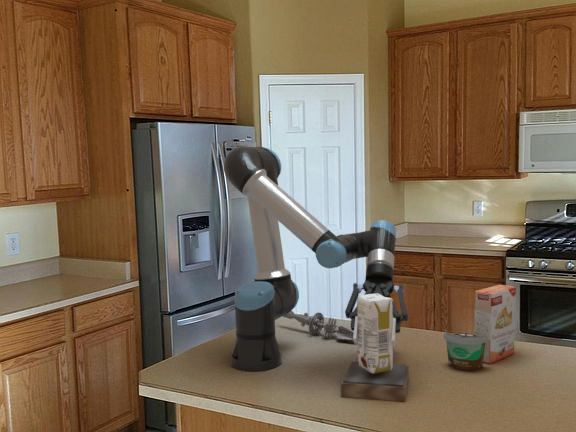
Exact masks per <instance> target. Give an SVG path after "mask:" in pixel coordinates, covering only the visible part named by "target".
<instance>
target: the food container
mask: <svg viewBox="0 0 576 432" xmlns="http://www.w3.org/2000/svg"><path fill="white" fill-rule="evenodd" d="M443 339H444V340H445V342H446V350H447V358H448V360H447V361H448V366H449V367H450V368H452V369H453V370H454V369H455V370H456V371H461V372H462V371H464V372H477V371H480V370H481V369H483V366H484V362H483V359H484V350H485V343H486V342H487V341H488V337H487V335H486V334H485V335H482V336H479V335H474V334H471V333H468V332H467V333H466V332H463V333H462V332H461V333H453V332H452V333H449V332H448V331H447V330H446V329H445V331H444V333H443Z"/></svg>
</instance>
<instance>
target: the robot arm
mask: <svg viewBox="0 0 576 432" xmlns="http://www.w3.org/2000/svg"><path fill="white" fill-rule="evenodd" d="M223 171H224V174H225V177H226V179H227V180H228V182H229V183H230V184H231V185H232V186H233V187H234V188H235V189H236V190H237V191H239V192H240V193H241V194H242V195H244V196H246V197H247V203H248V209H249V216H250V217H249V218H250V224H251V231H252V237H253V245H254V252H255V261H256V266H257V273H256V274H255V275H254V278H253V280H254V281H251V282H247V283H243V284H241V285H240V286H238V287H237V288H236V290H235V292H234V302H233V303H234V311H235V312H234V313H235V315H234V316H235V334H236V335H235V337H236V338H235V342H234V344H233V349H232V352H231V355H230V365H231V367H233V368H235V369H237V370H242V371H247V372H249V371H251V372H252V371H253V372H255V371H257V372H258V371H259V372H260V371H267V370H271V369H274V368H277V367H279V366H280V365H281V364H282V362H283V361H282V360H283V359H282V351H281V348H280V346H279V344H278V340H277V337H276V320H278V319H279V318H282V317H283V316H284V315H287V314H288V313H289V312H291V311H293V310H294V309H295V308H296V306H297V305H298V302H299V299H300V290H299V287H298V285H297V283H295V282H294V281H293V280H292V275H291V272H290V271H289V270H288V269H286V266H285V260H284V254H283V253H284V252H283V245H282V238H281V232H280V224H282V225H283V226H284V227H285V229H287V230H288V231H289V232H291V234H292V235H293V236H295V237H296V238H297V239H298V240H300V241H301V242H302V243H303V244H304V245H305V246H306V247H308V249H310V250H311V251H312V252H314V254H315V258H316V260H317V263H318V264H319V265H320V266H321V267H323V268H325V269H335V268H339V267H341V266H342V265H343V264H346V263H348V262H351V261H352V260H357V259H363V258H367V260H366V268H365V269H366V271H365V279H364V282H363V284H358V283H357V282H355V283H353V284H352V289H353V290H352V292H351V296H350V298H349V300H348V303H347V306H346V309H345V310H344V313H345V317H346V318H347V319H350V329H351V330H353V331H354V336H353V340H354V341H353V343H354V344H357V345H358V309H357V308H358V304H357V302H358V296H360V295H359V294H361V293H362V290H363V291H364V292H365V293H364V294H363V295H366V294H376V293H378V294H380V295H382V296H384V297H388V298H392V297H391V294H392V293H393V292H394V291H395V294H396V295H398V301H399V306H400V310H401V313H399V310H398V309H397V307H396V305H395V302H394V300H393V301H392V306H393V324H392V339H391V341H392V346H394V347H395V346H396V337H397V336H396V334H400V332H401V324H402V323H401V322H404V321H405V322H407V321H408V320H409V317H408V311H407V310H408V309H407V306H406V302H405V297H404V294H405V288H404V284H399V285H395V284H394V267H395V252H396V242H397V237H396V231H397V230H396V227H395V225H394V224H393V223H392V222H390V221H389V220H385V219H379V220H375V222H372V223H371V225H370V228H369V230H364V231H359V232H353V233H347V234H338V235H336V234H334V233H333V232H332V231H331V230H330V229H328V227H327V226H325V225H324V224H323V223H322V222H320V221H319V220H318V219H317V218H316V217H315V216H313V215H312V214H311V213H310V212H309V211H308V210H307V209H306V208H304V207H303V205H301V204H300V203H299V202H297V201H296V200H295V199H294V198H293V197H292V196H291V195H289V194H288V192H286V191H285V190H284V189H282V187H280V186H279V182H278V181H279V180H278V178H279V176H280V175H281V173H282V163H281V160H280V158H279V155H277V153H276V152H275V151H274V150H271V148H267V147H264V146H238V147H236V148H234V149H233V148H232V150H230V151H229V152H228V153H227V155H226V157H225V159H224V162H223ZM279 223H280V224H279ZM356 304H357V305H356ZM355 306H356V307H355Z"/></svg>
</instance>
